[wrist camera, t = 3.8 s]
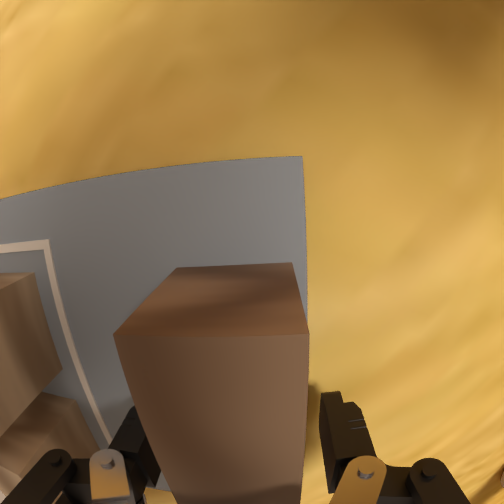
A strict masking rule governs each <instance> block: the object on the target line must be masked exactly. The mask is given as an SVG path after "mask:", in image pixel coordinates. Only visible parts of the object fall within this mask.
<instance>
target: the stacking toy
mask: <svg viewBox="0 0 504 504" xmlns="http://www.w3.org/2000/svg"><path fill="white" fill-rule="evenodd" d="M501 485H502V487H503V488H504V472H503V474H502V477H501Z"/></svg>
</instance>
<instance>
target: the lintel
mask: <svg viewBox="0 0 504 504" xmlns="http://www.w3.org/2000/svg"><path fill="white" fill-rule="evenodd" d="M113 337H114V341H115V345H116V348H117V352H118V355H119V359H120V362H121V365H122V369H123V372H124V375H125V378H126V381H127V384H128V387H129V390H130V393H131V396H132V399H133V402H134V405H135V408H136V410H137V413H138V416H139V418H140V421H141V424H142V426H143V429H144V431H145V434H146V436H147V439H148V441H149V444H150V446H151V448H152V451H153V453H154V455H155V458H156V460H157V462H158V464H159V467H160V469H161V471H162V473H163V475H164V477H165V479H166V482H167V484H168V486H169V488H170V490H171V492H172V494H173V496H174V498H175V500H176V501H177V503H178V504H300V499H301V489H302V478H303V466H304V452H305V438H306V421H307V400H308V374H309V330H308V325H307V321H306V317H305V313H304V308H303V304H302V300H301V296H300V292H299V288H298V284H297V280H296V276H295V272H294V268H293V264H292V262H285V263H265V264H244V265H222V266H200V267H177V268H176V269H175V270H174V271H173V272H172V273H171V274H170V275H169V276H168V277H167V278H166V279H165V280H164V281H163V282H162V283H161V284H160V285H159V286H158V287H157V288H156V289H155V290H154V291H153V292H152V293H151V294H150V295H149V296H148V297H147V298H146V299H145V300H144V301H143V303H142V304H141V305H140V306H139V307H138V308H137V309H136V310H135V311H134V312H133V313H132V314H131V315H130V316H129V317H128V318H127V319H126V320H125V322H124V323H123V324H122V325H121V326H120V327H119V328H118V329H117V330H116V331H115V332H114V333H113Z"/></svg>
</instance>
